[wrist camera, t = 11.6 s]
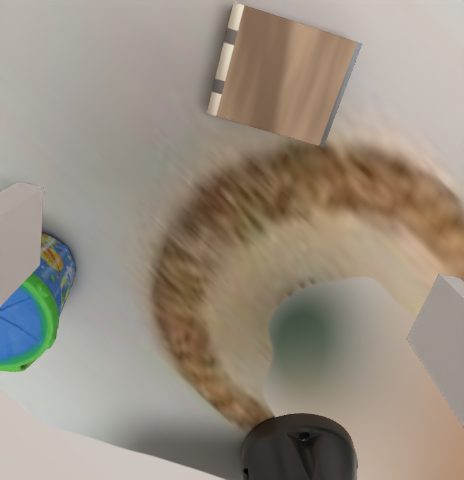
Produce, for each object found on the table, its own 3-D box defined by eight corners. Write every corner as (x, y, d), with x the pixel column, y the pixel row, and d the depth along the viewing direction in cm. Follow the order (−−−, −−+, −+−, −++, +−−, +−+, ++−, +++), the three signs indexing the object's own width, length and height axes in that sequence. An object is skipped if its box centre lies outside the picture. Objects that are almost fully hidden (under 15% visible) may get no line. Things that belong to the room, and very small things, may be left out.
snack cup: (-18, 181, 38) (-99, 222, 29) (93, 198, 39) (50, 244, 30) (-5, 315, 44) (-67, 383, 35) (90, 327, 45) (54, 398, 36)
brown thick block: (206, 113, 32) (323, 146, 33) (233, 2, 29) (362, 43, 30) (208, 107, 35) (315, 138, 36) (233, 7, 32) (349, 44, 33)
